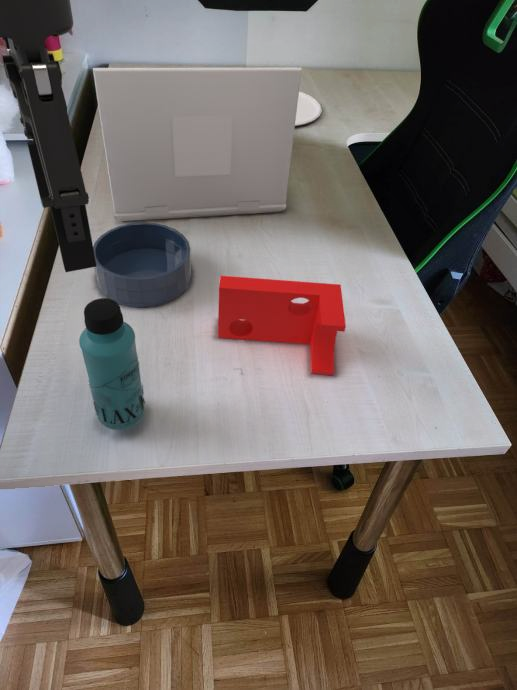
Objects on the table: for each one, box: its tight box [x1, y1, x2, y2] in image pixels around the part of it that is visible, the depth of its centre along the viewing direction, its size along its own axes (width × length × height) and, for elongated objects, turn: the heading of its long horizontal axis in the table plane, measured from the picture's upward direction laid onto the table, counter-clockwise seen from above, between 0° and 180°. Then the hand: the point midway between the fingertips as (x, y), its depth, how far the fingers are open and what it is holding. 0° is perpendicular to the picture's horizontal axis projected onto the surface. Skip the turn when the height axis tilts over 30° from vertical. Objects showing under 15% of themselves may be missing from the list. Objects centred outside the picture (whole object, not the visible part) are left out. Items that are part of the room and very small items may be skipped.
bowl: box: [93, 221, 192, 308], centre depth 89 cm, size 16×16×6 cm
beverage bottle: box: [78, 297, 146, 431], centre depth 63 cm, size 6×7×20 cm
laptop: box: [92, 66, 303, 222], centre depth 104 cm, size 35×26×28 cm
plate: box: [295, 90, 323, 127], centre depth 147 cm, size 29×29×1 cm
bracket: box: [217, 275, 347, 376], centre depth 78 cm, size 18×10×10 cm
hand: (66, 232), depth 51 cm, fingers open, 13 cm apart
